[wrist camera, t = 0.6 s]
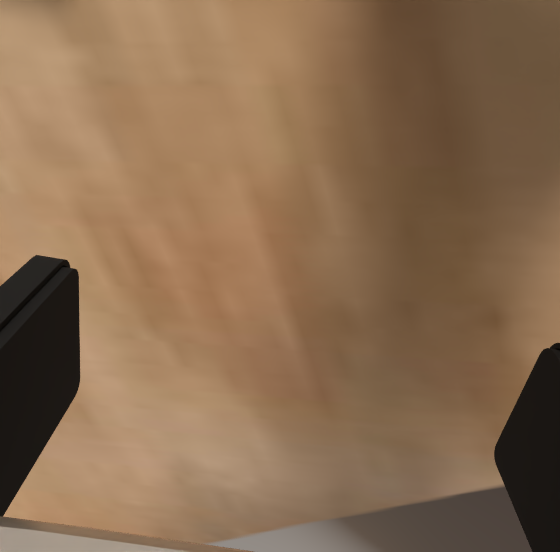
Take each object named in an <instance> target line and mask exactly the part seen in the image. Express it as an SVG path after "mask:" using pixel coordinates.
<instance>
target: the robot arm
mask: <svg viewBox="0 0 560 552" xmlns="http://www.w3.org/2000/svg"><path fill="white" fill-rule="evenodd" d="M79 383H80V337H79V276H78V271H77V270H76V269H73V268H70V265H69V262H68V261H67V260H63V259H57V258H51V257H45V256H40V255H36V256H34V257H33V258H31V259H30V260H29V261H28V262H27V263H26V264H25V265H24V266H23V267H21V268H20V269H19V270H18V271H17V272H16V273H15V274H14V275H12V276H11V277H10V278H9V279H8V280H7V281H6V282H5V283H4V284H2V285H1V286H0V552H253V551H245V550H239V549H232V548H225V547H218V546H211V545H204V544H197V543H191V542H184V541H177V540H170V539H163V538H156V537H149V536H142V535H135V534H128V533H122V532H115V531H108V530H101V529H94V528H87V527H79V526H72V525H64V524H56V523H48V522H40V521H33V520H25V519H17V518H9V517H3V515H4V514H5V512H6V510H7V509H8V507H9V505H10V504H11V502H12V500H13V499H14V497H15V495H16V494H17V492H18V490H19V489H20V487H21V485H22V484H23V482H24V480H25V479H26V477H27V475H28V474H29V472H30V470H31V469H32V467H33V465H34V464H35V462H36V460H37V459H38V457H39V455H40V454H41V452H42V450H43V449H44V447H45V445H46V444H47V442H48V441H49V439H50V437H51V436H52V434H53V432H54V431H55V429H56V427H57V426H58V424H59V422H60V421H61V419H62V417H63V416H64V414H65V412H66V411H67V409H68V407H69V406H70V404H71V402H72V401H73V399H74V397H75V395H76V393H77V391H78V387H79ZM494 457H495V462H496V465H497V468H498V470H499V473H500V475H501V477H502V480H503V482H504V485H505V487H506V489H507V491H508V494H509V497H510V499H511V501H512V504H513V506H514V508H515V511H516V513H517V516H518V518H519V520H520V523H521V525H522V528H523V530H524V532H525V534H526V537H527V540H528V542H529V544H530V547H531V549H532V551H533V552H560V343H556V344H554V345H552V346H551V347H550V349H549V348H546V349H544V350H543V351H542V352H541V354H540V355H539V357H538V359H537V361H536V364H535V366H534V368H533V370H532V372H531V374H530V376H529V378H528V380H527V382H526V384H525V386H524V388H523V390H522V392H521V394H520V396H519V398H518V400H517V403H516V405H515V407H514V409H513V411H512V413H511V415H510V417H509V419H508V421H507V423H506V425H505V427H504V429H503V431H502V433H501V435H500V437H499V439H498V442H497V444H496V446H495V451H494Z"/></svg>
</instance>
